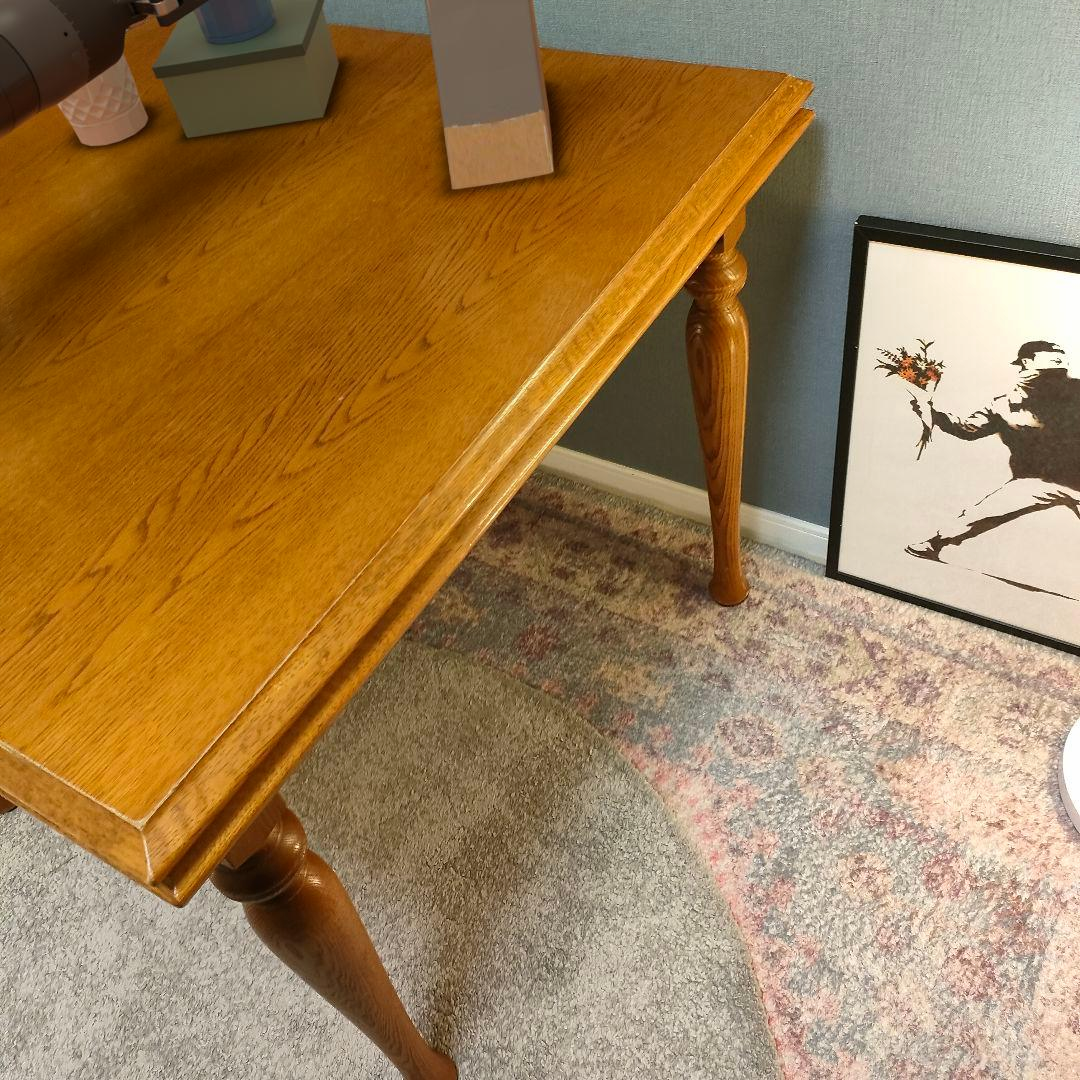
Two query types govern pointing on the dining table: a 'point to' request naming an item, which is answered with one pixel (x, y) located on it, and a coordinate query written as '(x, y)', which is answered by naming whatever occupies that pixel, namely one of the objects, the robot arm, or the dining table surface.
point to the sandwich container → (490, 90)
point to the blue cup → (234, 19)
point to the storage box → (250, 72)
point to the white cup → (106, 107)
